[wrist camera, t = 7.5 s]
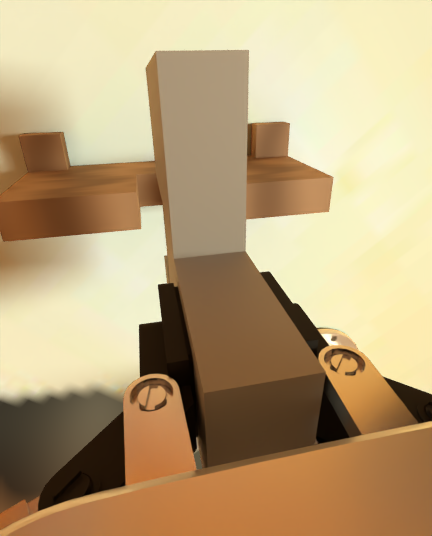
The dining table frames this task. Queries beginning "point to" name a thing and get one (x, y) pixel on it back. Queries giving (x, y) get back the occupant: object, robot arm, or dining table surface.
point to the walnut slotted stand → (143, 188)
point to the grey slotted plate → (225, 265)
